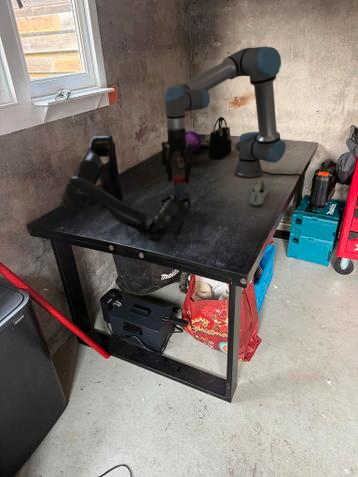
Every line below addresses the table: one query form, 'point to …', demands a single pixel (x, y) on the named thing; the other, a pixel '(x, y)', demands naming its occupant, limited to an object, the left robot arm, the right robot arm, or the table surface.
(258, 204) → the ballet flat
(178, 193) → the jar
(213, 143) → the handbag
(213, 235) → the table surface
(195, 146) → the decorative orb
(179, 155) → the boot
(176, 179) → the lid
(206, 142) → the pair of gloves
